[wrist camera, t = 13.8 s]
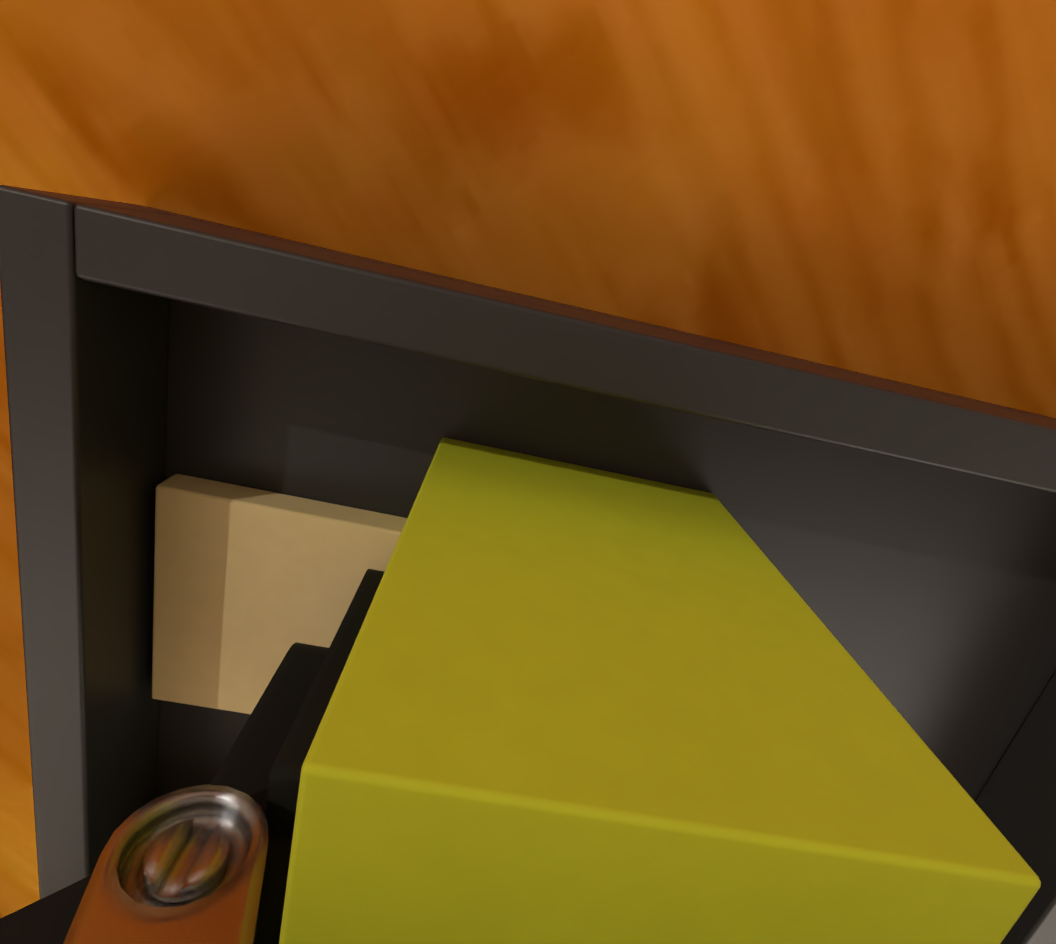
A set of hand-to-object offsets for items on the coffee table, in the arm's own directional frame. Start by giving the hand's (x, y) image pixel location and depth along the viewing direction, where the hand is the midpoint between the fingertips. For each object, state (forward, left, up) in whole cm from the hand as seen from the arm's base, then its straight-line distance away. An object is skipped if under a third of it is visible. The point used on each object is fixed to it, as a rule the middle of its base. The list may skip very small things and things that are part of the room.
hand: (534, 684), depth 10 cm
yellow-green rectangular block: (0, 0, -1) cm, 1 cm away
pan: (-2, 0, -2) cm, 2 cm away
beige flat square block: (+4, 0, -1) cm, 4 cm away
